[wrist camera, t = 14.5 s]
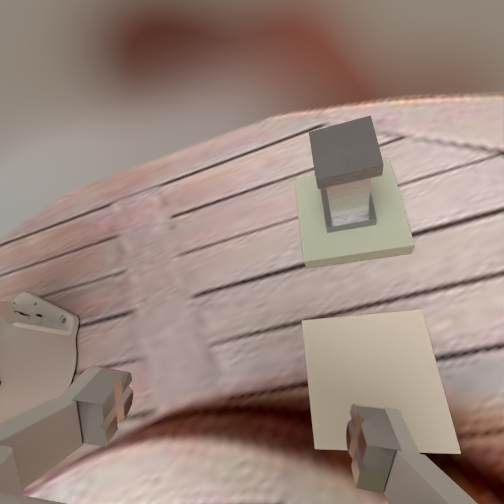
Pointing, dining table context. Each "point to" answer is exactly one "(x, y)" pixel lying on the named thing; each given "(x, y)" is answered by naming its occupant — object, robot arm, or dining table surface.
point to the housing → (346, 172)
